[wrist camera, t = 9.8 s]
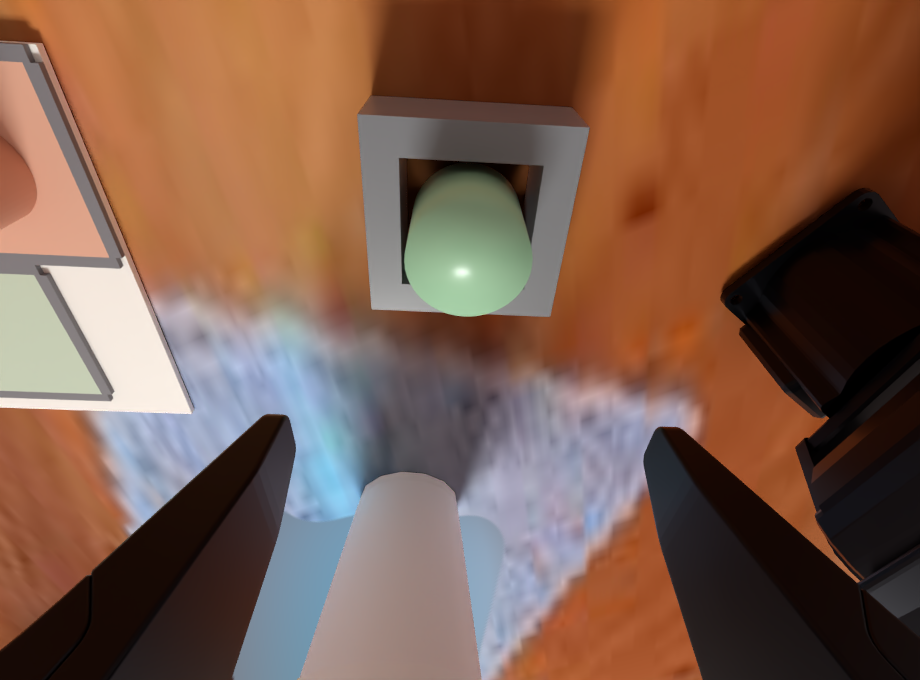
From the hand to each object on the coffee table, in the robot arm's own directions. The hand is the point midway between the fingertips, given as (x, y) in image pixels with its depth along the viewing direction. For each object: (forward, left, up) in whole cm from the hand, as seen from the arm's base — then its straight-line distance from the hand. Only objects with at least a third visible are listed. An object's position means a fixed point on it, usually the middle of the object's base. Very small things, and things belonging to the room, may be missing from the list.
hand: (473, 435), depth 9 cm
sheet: (+15, -14, -12) cm, 24 cm away
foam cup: (+18, +10, -12) cm, 24 cm away
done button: (0, 0, -10) cm, 10 cm away
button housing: (0, 0, -12) cm, 12 cm away
